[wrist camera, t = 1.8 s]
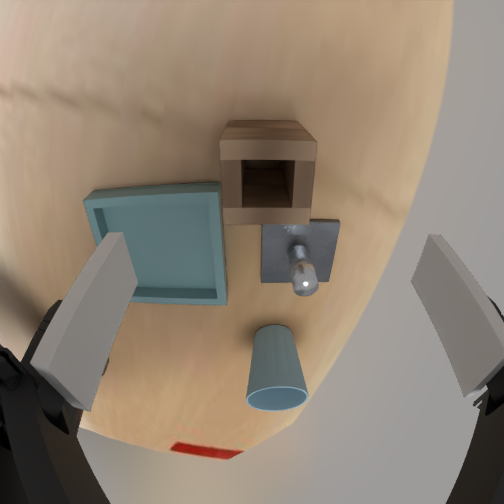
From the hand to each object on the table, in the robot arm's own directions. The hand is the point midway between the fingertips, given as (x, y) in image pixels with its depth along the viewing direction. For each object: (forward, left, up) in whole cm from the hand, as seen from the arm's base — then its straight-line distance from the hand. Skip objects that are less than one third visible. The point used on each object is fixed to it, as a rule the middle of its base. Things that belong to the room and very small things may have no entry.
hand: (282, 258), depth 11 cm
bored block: (0, 0, -16) cm, 16 cm away
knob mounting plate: (+4, -11, -16) cm, 20 cm away
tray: (-11, -10, -16) cm, 22 cm away
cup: (+2, -26, -16) cm, 31 cm away
